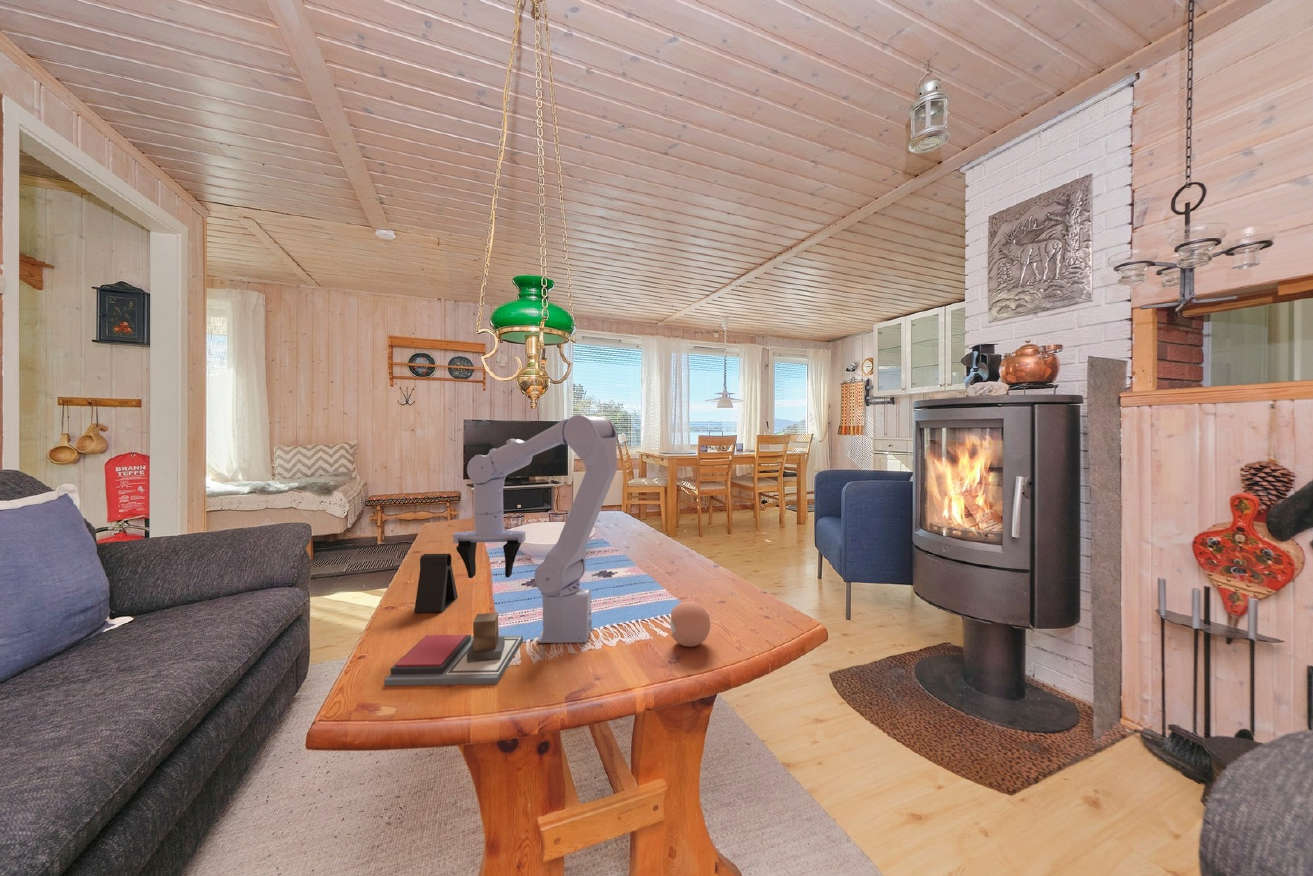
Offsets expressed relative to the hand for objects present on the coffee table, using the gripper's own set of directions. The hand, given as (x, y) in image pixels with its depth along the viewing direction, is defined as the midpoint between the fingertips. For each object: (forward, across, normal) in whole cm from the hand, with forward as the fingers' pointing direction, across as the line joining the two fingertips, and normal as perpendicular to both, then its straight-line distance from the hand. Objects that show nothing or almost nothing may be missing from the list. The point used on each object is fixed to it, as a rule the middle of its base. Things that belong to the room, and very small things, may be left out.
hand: (490, 576), depth 98 cm
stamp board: (+10, 0, +16) cm, 19 cm away
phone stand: (+10, +16, -10) cm, 21 cm away
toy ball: (+10, -41, +11) cm, 44 cm away
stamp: (+9, -4, +16) cm, 18 cm away
